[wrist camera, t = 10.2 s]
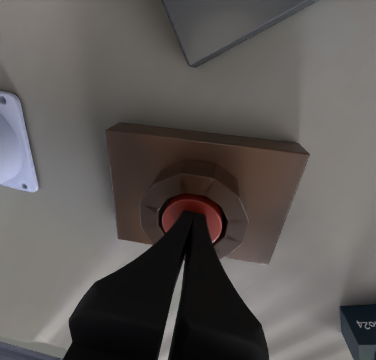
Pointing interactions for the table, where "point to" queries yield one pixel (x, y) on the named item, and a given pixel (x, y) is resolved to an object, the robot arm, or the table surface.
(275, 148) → the button block
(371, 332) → the watch
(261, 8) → the timer panel
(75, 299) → the table surface
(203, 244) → the robot arm
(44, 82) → the table surface
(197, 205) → the push knob
